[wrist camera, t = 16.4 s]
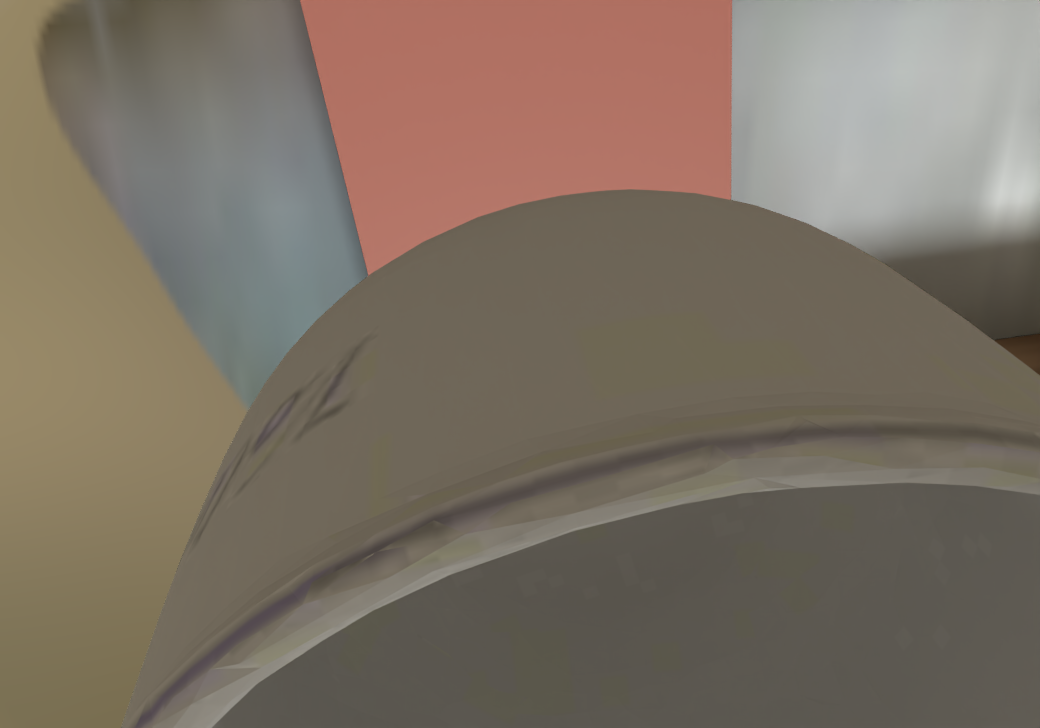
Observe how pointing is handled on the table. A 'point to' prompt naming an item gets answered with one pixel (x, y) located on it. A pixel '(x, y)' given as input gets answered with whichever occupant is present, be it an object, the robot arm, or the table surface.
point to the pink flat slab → (518, 105)
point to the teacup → (619, 494)
